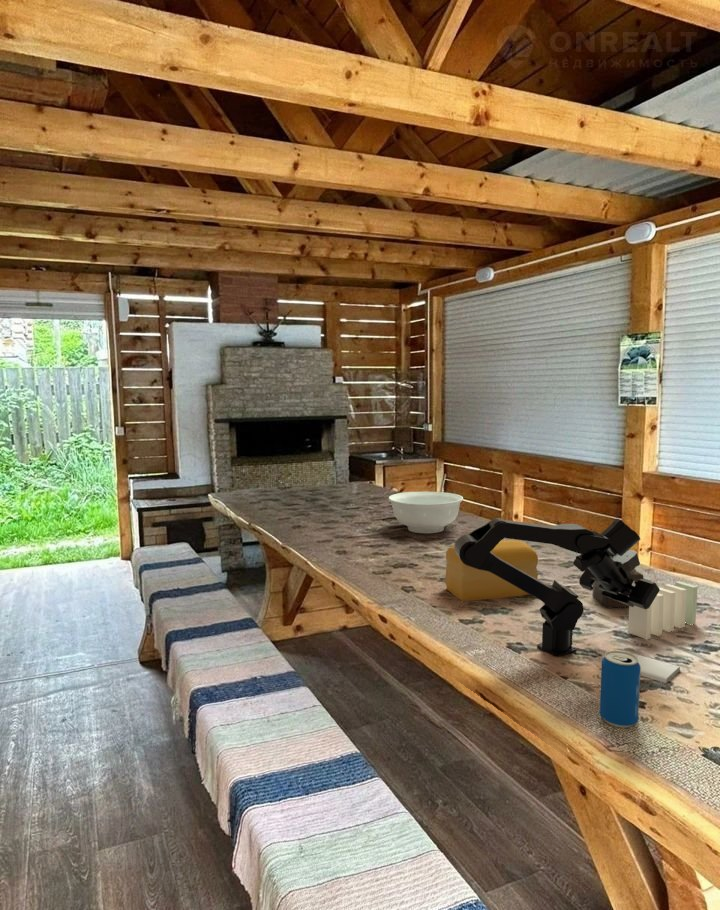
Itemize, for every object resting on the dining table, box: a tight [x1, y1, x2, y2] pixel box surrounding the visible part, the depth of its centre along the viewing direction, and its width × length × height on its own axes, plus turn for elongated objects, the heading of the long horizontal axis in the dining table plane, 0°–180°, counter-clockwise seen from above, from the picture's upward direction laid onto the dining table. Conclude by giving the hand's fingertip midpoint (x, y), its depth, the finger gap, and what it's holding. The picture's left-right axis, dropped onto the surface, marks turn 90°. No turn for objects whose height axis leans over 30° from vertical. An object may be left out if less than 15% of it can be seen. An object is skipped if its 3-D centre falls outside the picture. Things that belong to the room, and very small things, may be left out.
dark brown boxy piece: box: [591, 567, 644, 609], centre depth 177 cm, size 16×11×18 cm
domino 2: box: [651, 593, 664, 637], centre depth 154 cm, size 2×5×10 cm, turn 29°
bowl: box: [388, 491, 464, 534], centre depth 268 cm, size 32×32×15 cm
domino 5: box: [674, 580, 698, 626], centre depth 160 cm, size 2×5×10 cm, turn 29°
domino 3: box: [658, 586, 676, 633], centre depth 156 cm, size 2×5×10 cm, turn 29°
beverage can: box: [599, 650, 641, 729], centre depth 112 cm, size 6×6×12 cm
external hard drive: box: [620, 649, 681, 684], centre depth 134 cm, size 2×8×12 cm
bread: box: [445, 539, 539, 602], centre depth 185 cm, size 24×13×15 cm, turn 104°
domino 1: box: [627, 604, 652, 640], centre depth 151 cm, size 2×5×10 cm, turn 29°
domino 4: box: [663, 583, 687, 629], centre depth 158 cm, size 2×5×10 cm, turn 29°
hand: (632, 605), depth 149 cm, fingers closed
